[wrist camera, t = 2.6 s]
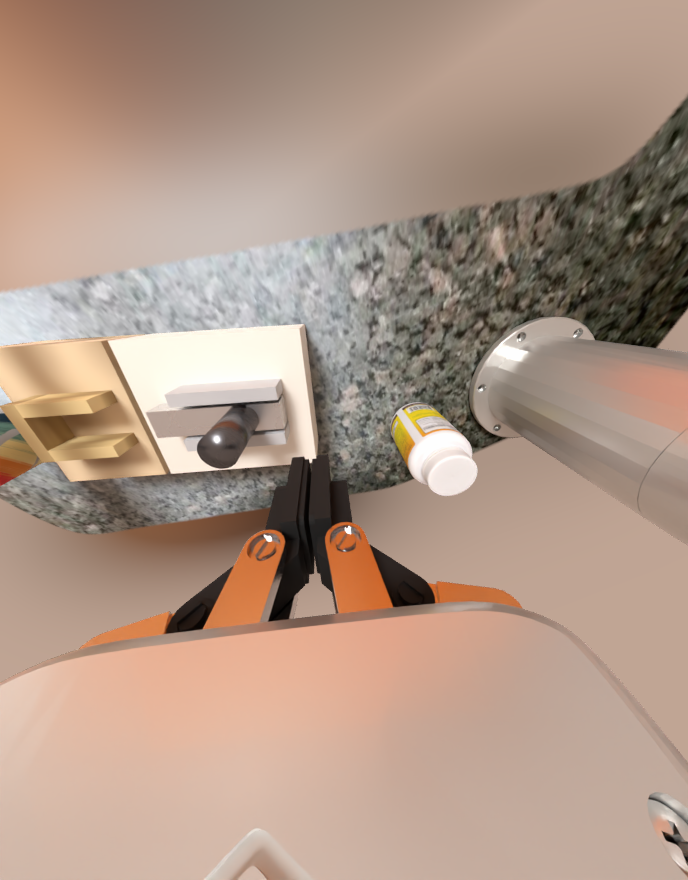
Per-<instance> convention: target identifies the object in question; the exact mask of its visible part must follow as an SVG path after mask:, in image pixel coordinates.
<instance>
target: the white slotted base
mask: <svg viewBox="0 0 688 880" xmlns="http://www.w3.org/2000/svg"><path fill="white" fill-rule="evenodd" d="M108 343H109V345H110V347H111V349H112V351H113V353H114V355H115V357H116V359H117V361H118V363H119V365H120V368H121V370H122V372H123V374H124V376H125V378H126V380H127V382H128V384H129V386H130V388H131V390H132V393H133V395H134V397H135V399H136V401H137V403H138V405H139V407H140V409H141V411H142V413H143V415H144V418H145V420H146V422H147V424H148V426H149V428H150V430H151V432H152V434H153V436H154V438H155V440H156V443H157V445H158V447H159V449H160V451H161V453H162V455H163V457H164V459H165V461H166V463H167V465H168V468H169V470H170V472H171V474H175V473H188V472H201V471H213V470H226V469H239V468H252V467H264V466H277V465H290V464H291V461H292V458H293V457H305V459H309V462H310V463H312V459H316V457H317V450H318V431H317V423H316V415H315V406H314V398H313V389H312V381H311V373H310V364H309V356H308V347H307V339H306V331H305V324H298V325H282V326H267V327H251V328H236V329H220V330H205V331H189V332H174V333H158V334H147V335H141V336H135V337H129V338H122V339H116V340H110V341H108ZM280 395H283V396H284V401H285V407H286V412H287V418H288V419H287V422H286V425H285V428H284V429H274V430H261V431H255V432H254V433H253V435H252V437H251V438H250V440H249V442H248V444H247V445H246V447H245V449H244V450H243V452H242V454H241V456H240V457H239V459H238V461H237V462H236V464H235V465H233V466H232V467H229V468H225V469H218V468H214V467H211V466H209V465H207V464H206V463H205V462H203V461H202V460H201V458H200V457H199V455H198V452H197V444H198V442H199V441H200V439H201V438H202V437H203V436H204V435H194V436H181V437H167V438H157V436H156V434H155V432H154V429H153V427H152V425H151V423H150V421H149V419H148V417H147V415H146V412H147V411H149V410H150V409H152V408H154V407H156V406H157V405H159V404H161V403H168V405H169V408H172V407H186V406H200V405H214V404H228V403H242V402H256V401H270V400H278V399H279V397H280Z"/></svg>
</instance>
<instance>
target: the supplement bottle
mask: <svg viewBox="0 0 688 880" xmlns="http://www.w3.org/2000/svg"><path fill="white" fill-rule="evenodd" d="M390 431H391V435H392V437H393V439H394V441H395V443H396V445H397V447H398V449H399V451H400V453H401V455H402V457H403V459H404V461H405V463H406V465H407V467H408V469H409V471H410V473H411V474H412V476H413V477H414V478H415V479H416V480H417V481H418V482H420V483H422V484H425V485H428V486H429V488H430V489H431V490H432V491H433V492H434V493H436V494H438V495H442V496H451V495H456V494H459V493H461V492H463V491H465V490H466V489H468V488H469V487H470V486H471V485H472V484H473V482H474V481H475V479H476V476H477V466H476V464H475V462H474V461H473V460H472V448H471V445H470V443H469V442H468V440H467V439H466V438H465V437H464V436H463V435H462V434H461V433H460V432H459V431H458V430H457V429H456V428H454V427H453V426H452V425H451V424H450V423H449V422H448V421H447V420H446V419H445V418H444V417H443V416H442V415H441V414H440V413H438V412H437V411H436V410H435V409H434V408H433V407H432V406H430V405H428V404H426V403H421V402H415V403H410V404H407V405H405V406H403V407H402V408H400V409H399V410H398V411H397V412H396V414H395V415H394V417H393V419H392V421H391V425H390Z"/></svg>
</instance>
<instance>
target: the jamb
mask: <svg viewBox="0 0 688 880" xmlns="http://www.w3.org/2000/svg"><path fill="white" fill-rule="evenodd" d="M143 335H145V334H143ZM135 336H141V335H127V336H112V337H96V338H81V339H65V340H50V341H38V342H30V343H22V344H14V345H6V346H0V386H1V388H2V389H3V390H4V392H5V393H6V395H7V396H8V397H9V399H10V400H11V401H12V403H8V404H5V405H2V406H0V408H1V409H2V410H3V412H4V413H5V414H6V416H7V417H8V418H9V420H10V421H11V422H12V423H13V425H14V426H15V427H16V429H17V430H18V431H19V433H20V434H21V435H22V437H23V438H24V439H25V440H26V442H27V443H28V444H29V446H30V447H31V448H32V450H33V451H34V452H35V453H36V455H37V456H38V457H39V459H40V460H41V461H42V463H45V462H56V463H57V464H58V465H59V467H60V468H61V469H62V471H63V472H64V473H65V475H66V476H67V478H68V479H69V480H70V482H73V481H86V480H99V479H111V478H124V477H137V476H150V475H162V474H167V473H168V472H169V471H170V470H169V468H168V465H167V463H166V461H165V459H164V457H163V455H162V453H161V451H160V449H159V447H158V445H157V443H156V440H155V438H154V436H153V434H152V432H151V430H150V428H149V426H148V424H147V422H146V420H145V418H144V415H143V413H142V411H141V409H140V407H139V405H138V403H137V401H136V399H135V397H134V395H133V393H132V390H131V388H130V386H129V384H128V382H127V380H126V378H125V376H124V374H123V372H122V370H121V368H120V365H119V363H118V361H117V359H116V357H115V355H114V353H113V351H112V349H111V347H110V345H109V343H108V341H110V340H116V339H122V338H129V337H135Z"/></svg>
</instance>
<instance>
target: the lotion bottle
mask: <svg viewBox="0 0 688 880" xmlns="http://www.w3.org/2000/svg"><path fill="white" fill-rule="evenodd" d="M41 463H42V461H41V460H40V459H39V457H38V456H37V455H36V453H35V452H34V451H33V450H32V448H31V447H30V446H29V444H28V443H27V442H26V440H25V439H24V438H23V437H22V435H21V434H20V433H19V431H18V430H17V429H16V427H15V426H14V425H13V423H12V422H11V421H10V420H9V418H8V417H7V416H6V414H5V413H4V412H3V410H2V409H1V408H0V486H1V485H3V484H5V483H7V482H8V481H10V480H12V479H14V478H16V477H17V476H19V475H21V474H23V473H25V472H27V471H28V470H30V469H32V468H34V467H36V466H37V465H39V464H41Z"/></svg>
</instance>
